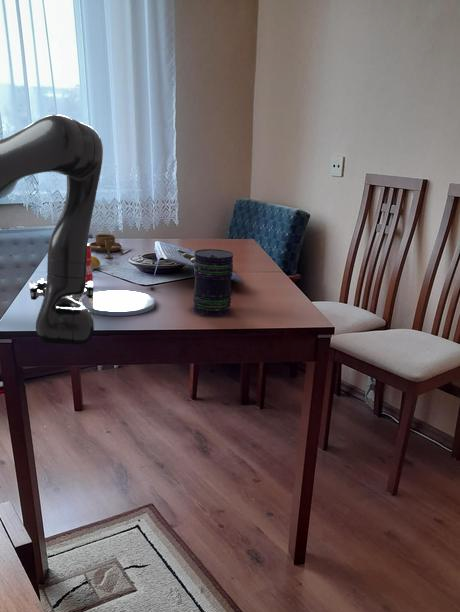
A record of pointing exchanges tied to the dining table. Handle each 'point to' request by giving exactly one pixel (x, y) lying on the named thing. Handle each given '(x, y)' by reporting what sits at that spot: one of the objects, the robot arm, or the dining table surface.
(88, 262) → the beverage can
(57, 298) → the robot arm
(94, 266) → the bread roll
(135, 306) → the plate
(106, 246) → the place setting
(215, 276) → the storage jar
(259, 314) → the dining table surface
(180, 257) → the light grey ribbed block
